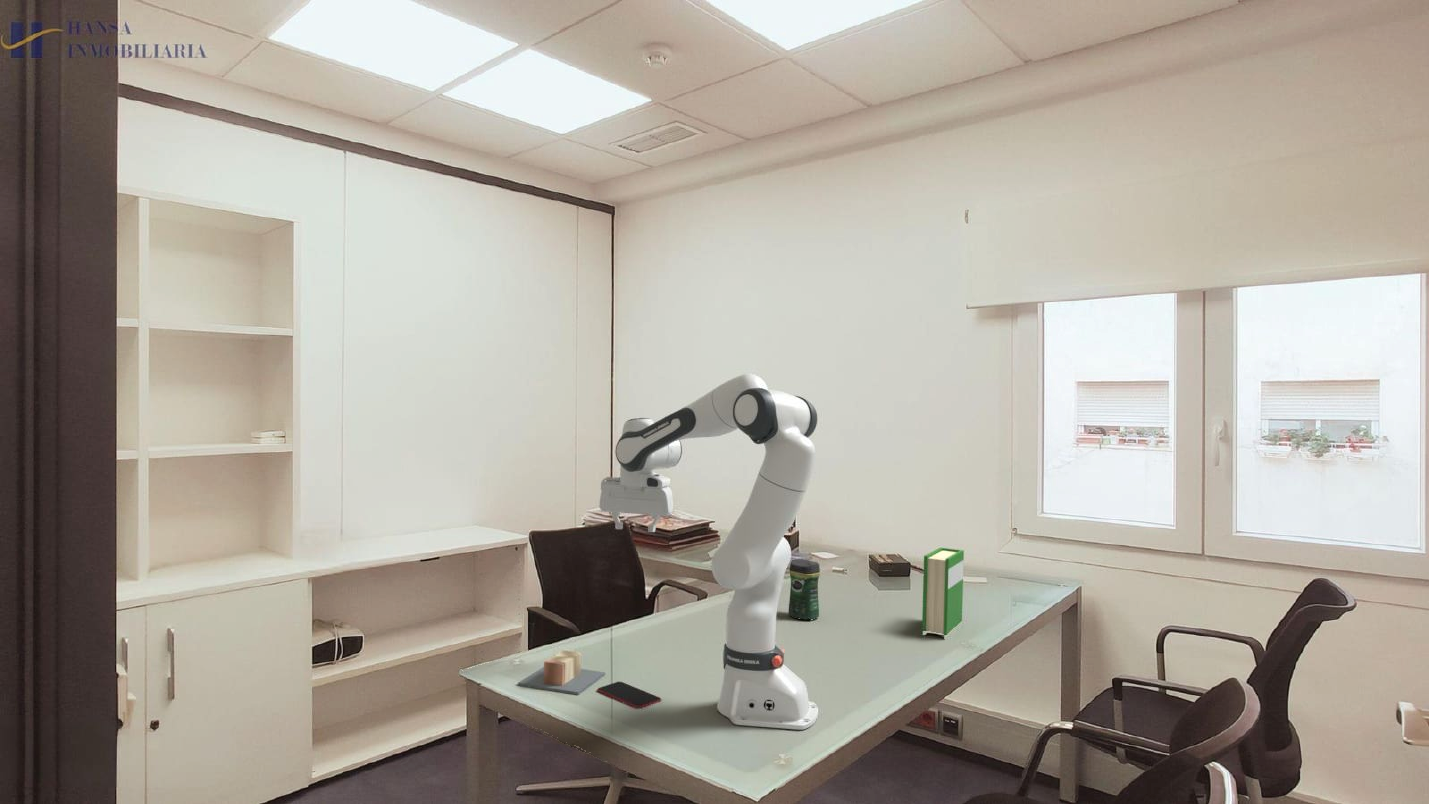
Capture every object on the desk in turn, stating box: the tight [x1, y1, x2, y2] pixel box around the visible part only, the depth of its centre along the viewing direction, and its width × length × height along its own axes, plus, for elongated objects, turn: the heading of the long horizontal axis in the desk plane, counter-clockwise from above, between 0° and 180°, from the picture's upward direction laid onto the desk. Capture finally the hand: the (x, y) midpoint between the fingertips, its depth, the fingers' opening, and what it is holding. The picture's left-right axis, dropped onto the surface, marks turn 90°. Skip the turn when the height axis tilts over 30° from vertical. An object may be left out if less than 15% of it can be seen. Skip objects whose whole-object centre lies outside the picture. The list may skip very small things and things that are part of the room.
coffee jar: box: [787, 558, 821, 620], centre depth 244 cm, size 10×8×19 cm
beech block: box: [543, 650, 582, 686], centre depth 183 cm, size 5×5×9 cm
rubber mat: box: [517, 666, 606, 696], centre depth 184 cm, size 16×14×1 cm
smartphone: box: [596, 681, 662, 709], centre depth 175 cm, size 7×1×15 cm
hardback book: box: [921, 547, 965, 635], centre depth 234 cm, size 18×7×24 cm, turn 148°
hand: (635, 530), depth 201 cm, fingers open, 8 cm apart
